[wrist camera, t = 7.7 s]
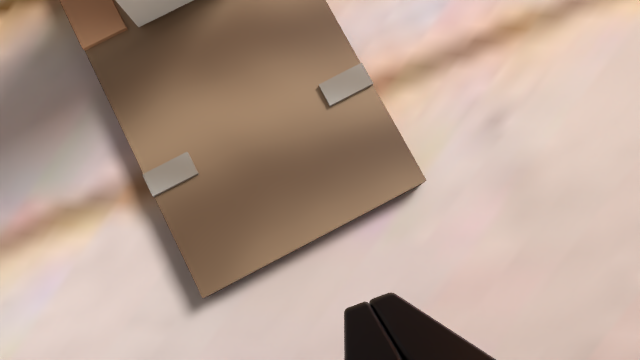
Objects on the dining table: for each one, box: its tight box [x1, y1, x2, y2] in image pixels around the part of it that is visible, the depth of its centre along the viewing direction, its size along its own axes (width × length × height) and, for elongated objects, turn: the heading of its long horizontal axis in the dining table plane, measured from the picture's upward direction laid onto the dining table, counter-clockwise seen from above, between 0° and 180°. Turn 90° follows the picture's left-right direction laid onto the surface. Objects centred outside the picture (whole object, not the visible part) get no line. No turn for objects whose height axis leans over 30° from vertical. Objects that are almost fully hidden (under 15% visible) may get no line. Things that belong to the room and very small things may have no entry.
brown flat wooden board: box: [60, 0, 426, 298], centre depth 21 cm, size 17×10×1 cm, turn 28°
